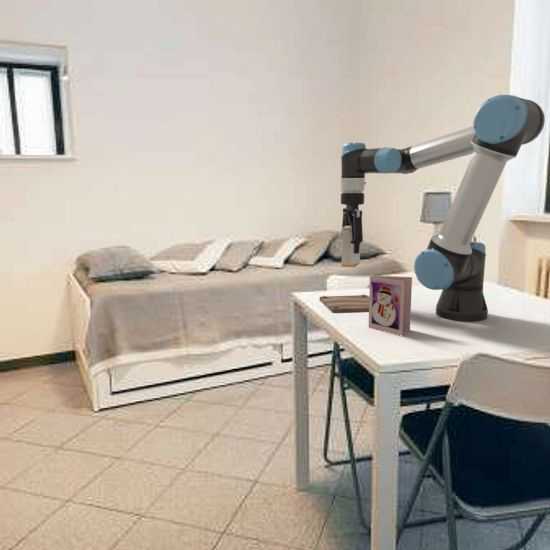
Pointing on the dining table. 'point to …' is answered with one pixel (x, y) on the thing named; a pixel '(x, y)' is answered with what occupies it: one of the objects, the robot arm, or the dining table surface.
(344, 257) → the supplement box
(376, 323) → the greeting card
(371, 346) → the dining table surface
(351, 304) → the plate
